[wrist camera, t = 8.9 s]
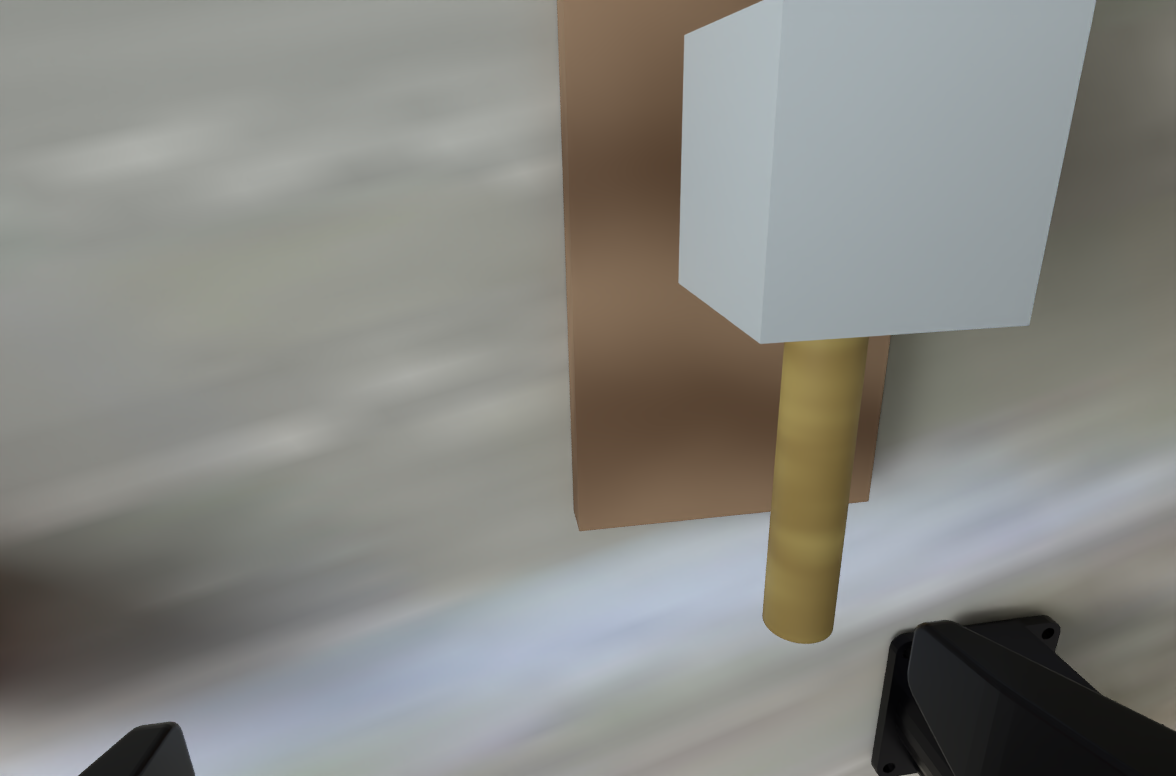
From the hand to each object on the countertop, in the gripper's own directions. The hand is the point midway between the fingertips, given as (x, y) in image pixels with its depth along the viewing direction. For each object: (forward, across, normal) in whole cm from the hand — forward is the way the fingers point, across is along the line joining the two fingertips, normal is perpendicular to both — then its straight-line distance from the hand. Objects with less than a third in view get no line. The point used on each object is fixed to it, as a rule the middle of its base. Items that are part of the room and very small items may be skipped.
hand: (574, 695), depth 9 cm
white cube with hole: (+8, -6, -6) cm, 12 cm away
